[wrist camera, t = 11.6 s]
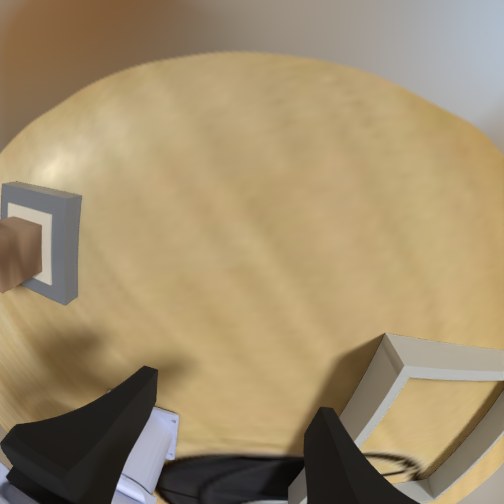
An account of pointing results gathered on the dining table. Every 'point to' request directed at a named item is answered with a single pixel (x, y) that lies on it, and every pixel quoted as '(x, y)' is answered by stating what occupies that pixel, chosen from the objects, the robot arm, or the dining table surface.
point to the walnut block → (19, 251)
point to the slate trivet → (49, 235)
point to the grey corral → (389, 386)
